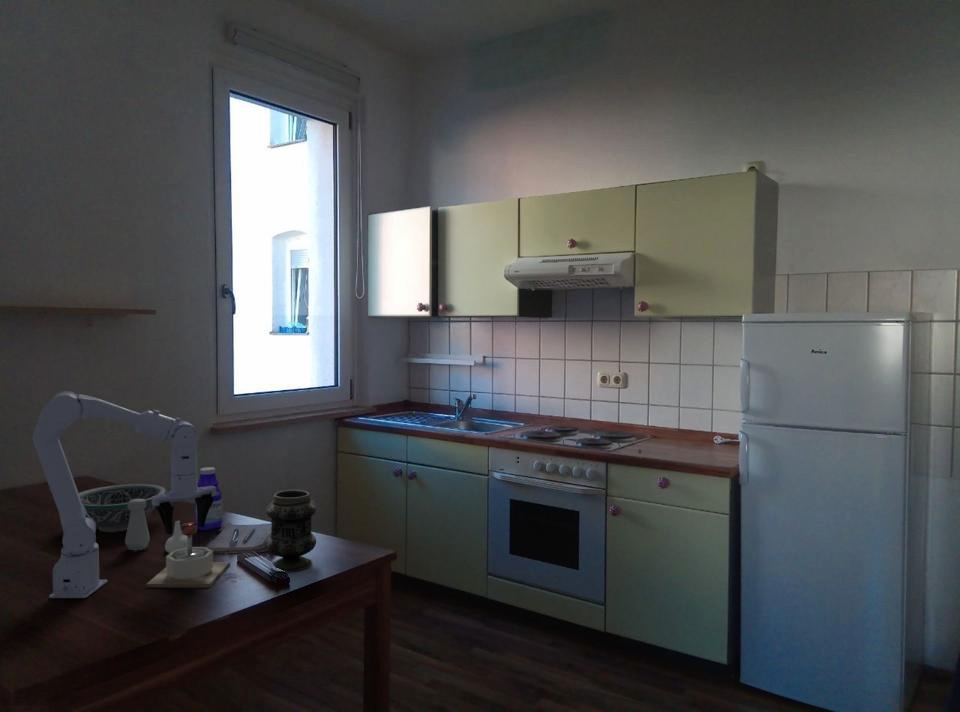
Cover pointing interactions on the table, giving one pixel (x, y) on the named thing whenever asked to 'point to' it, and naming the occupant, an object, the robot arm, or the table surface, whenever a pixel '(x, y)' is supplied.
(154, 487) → the bowl
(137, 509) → the salt shaker
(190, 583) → the board
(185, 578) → the press carafe
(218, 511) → the bottle
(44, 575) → the table surface
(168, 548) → the garlic bulb
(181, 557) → the plunger
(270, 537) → the apothecary jar
